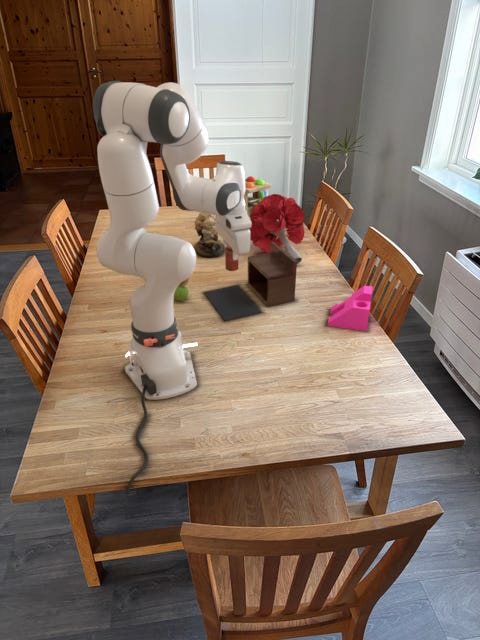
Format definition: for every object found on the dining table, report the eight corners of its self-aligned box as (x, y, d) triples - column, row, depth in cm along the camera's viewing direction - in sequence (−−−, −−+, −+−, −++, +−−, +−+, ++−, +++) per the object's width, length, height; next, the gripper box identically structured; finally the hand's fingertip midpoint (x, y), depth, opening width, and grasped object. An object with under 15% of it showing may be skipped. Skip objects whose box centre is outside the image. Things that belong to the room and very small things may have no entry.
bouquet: (313, 270, 203) (283, 215, 214) (330, 235, 182) (296, 175, 194) (266, 284, 196) (237, 226, 208) (278, 248, 176) (245, 186, 187)
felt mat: (261, 312, 163) (261, 311, 162) (225, 321, 158) (225, 320, 158) (237, 285, 178) (237, 284, 178) (203, 292, 174) (203, 291, 174)
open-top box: (294, 300, 169) (297, 261, 161) (268, 306, 166) (269, 266, 158) (272, 279, 182) (273, 241, 174) (247, 284, 179) (247, 246, 171)
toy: (240, 269, 161) (240, 241, 155) (228, 272, 159) (227, 243, 154) (235, 264, 164) (235, 236, 158) (223, 266, 163) (222, 238, 157)
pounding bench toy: (283, 222, 230) (285, 184, 220) (260, 229, 222) (261, 190, 212) (251, 208, 245) (251, 172, 235) (228, 215, 237) (228, 178, 227)
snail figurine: (189, 304, 167) (187, 272, 160) (170, 302, 168) (168, 270, 161) (193, 296, 171) (191, 265, 165) (175, 294, 172) (173, 263, 166)
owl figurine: (227, 258, 198) (226, 217, 188) (197, 260, 196) (195, 219, 187) (220, 240, 213) (219, 201, 203) (193, 242, 211) (191, 203, 202)
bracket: (368, 314, 162) (372, 286, 156) (366, 331, 153) (371, 302, 148) (331, 309, 164) (334, 281, 159) (327, 325, 156) (330, 297, 151)
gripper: (209, 205, 158) (211, 244, 166) (234, 227, 143) (234, 270, 150) (227, 202, 160) (228, 241, 168) (254, 224, 145) (253, 266, 152)
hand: (231, 255), depth 159 cm, fingers closed on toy, 4 cm apart
